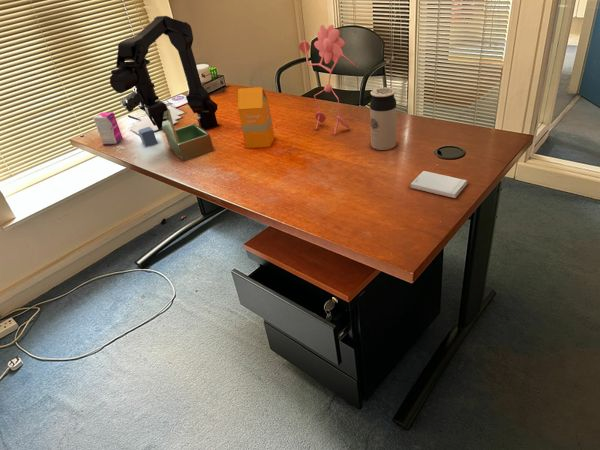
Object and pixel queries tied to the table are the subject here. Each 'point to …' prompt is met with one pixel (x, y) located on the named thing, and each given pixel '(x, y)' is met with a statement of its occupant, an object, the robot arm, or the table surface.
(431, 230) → the table surface
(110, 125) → the supplement box
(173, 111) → the paper stack
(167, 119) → the bin lid
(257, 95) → the orange juice
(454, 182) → the hard drive
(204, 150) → the waste bin
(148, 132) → the blue-grey block
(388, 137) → the travel mug
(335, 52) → the figurine
